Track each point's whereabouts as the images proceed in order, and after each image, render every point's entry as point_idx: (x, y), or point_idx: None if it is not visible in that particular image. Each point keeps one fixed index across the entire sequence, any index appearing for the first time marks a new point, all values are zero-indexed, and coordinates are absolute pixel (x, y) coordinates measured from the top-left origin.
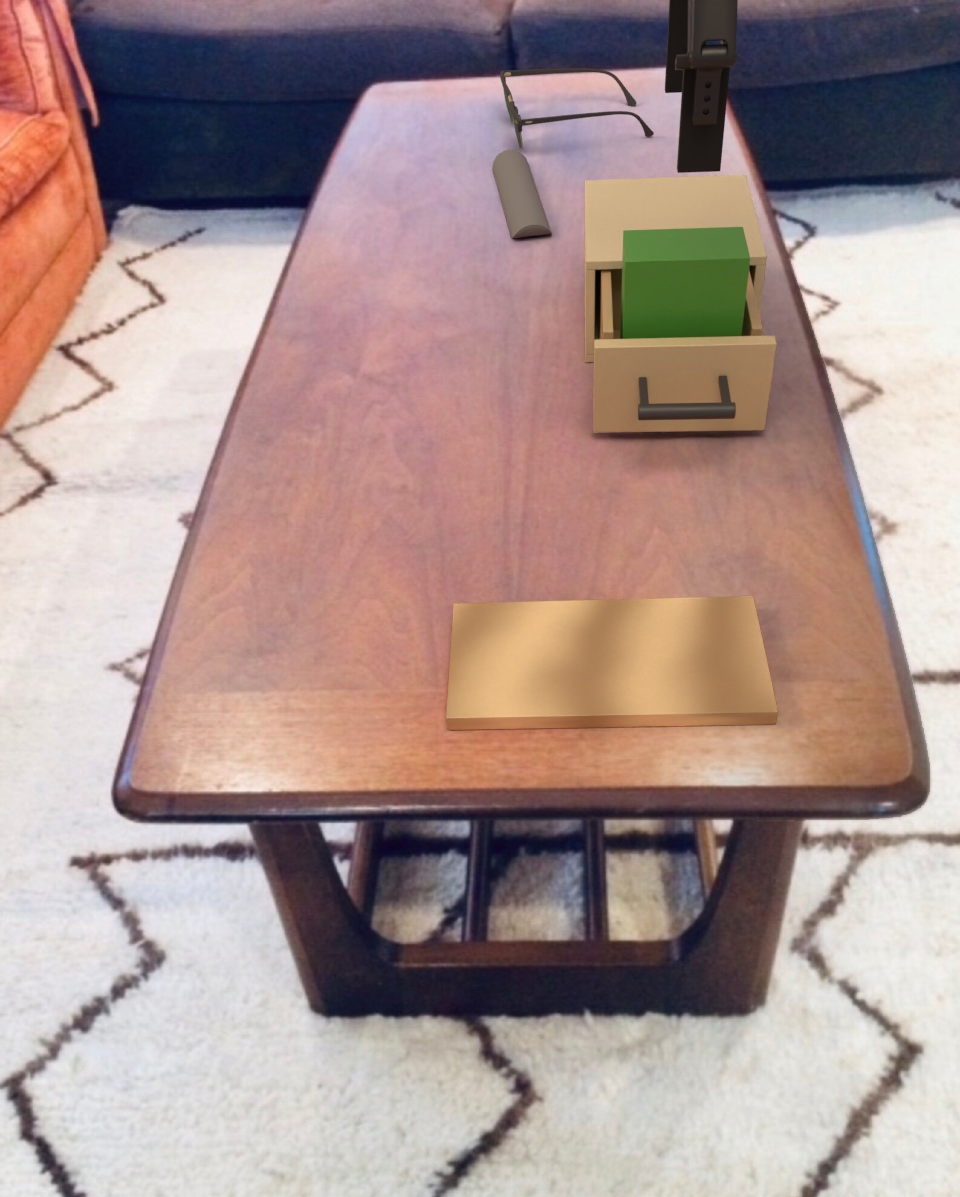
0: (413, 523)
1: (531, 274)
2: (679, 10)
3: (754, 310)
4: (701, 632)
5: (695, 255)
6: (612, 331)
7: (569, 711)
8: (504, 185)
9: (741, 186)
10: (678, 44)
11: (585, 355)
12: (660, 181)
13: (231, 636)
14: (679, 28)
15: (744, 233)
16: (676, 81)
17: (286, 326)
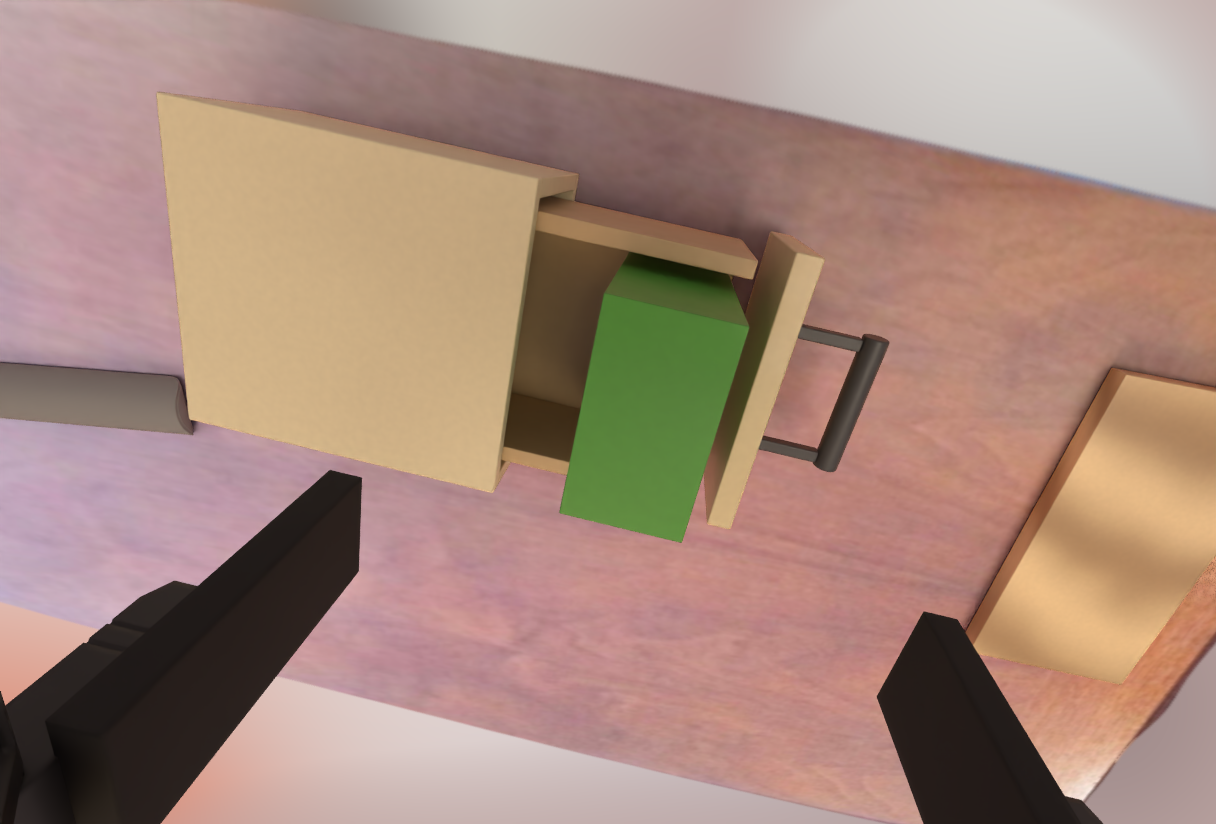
0: (801, 645)
1: None
2: (180, 768)
3: (693, 254)
4: (1150, 449)
5: (701, 426)
6: None
7: (1179, 595)
8: (37, 419)
9: (217, 124)
10: (270, 652)
11: None
12: (193, 288)
13: (899, 786)
14: (234, 701)
15: (634, 299)
16: (340, 565)
17: (400, 695)
